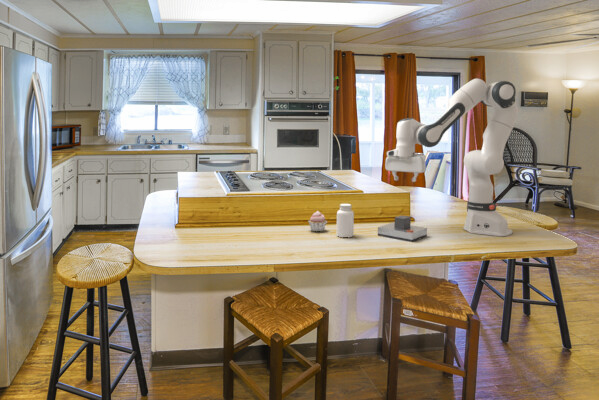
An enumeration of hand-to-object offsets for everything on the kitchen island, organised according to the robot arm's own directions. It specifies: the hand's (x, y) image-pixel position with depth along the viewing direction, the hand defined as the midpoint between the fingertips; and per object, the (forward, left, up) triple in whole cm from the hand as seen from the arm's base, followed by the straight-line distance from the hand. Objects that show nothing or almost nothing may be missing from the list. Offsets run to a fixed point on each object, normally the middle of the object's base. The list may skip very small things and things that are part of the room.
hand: (404, 180), depth 236 cm
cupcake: (+30, +30, -25) cm, 49 cm away
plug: (-6, +11, -23) cm, 26 cm away
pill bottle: (+14, +29, -25) cm, 41 cm away
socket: (-6, +11, -25) cm, 27 cm away
